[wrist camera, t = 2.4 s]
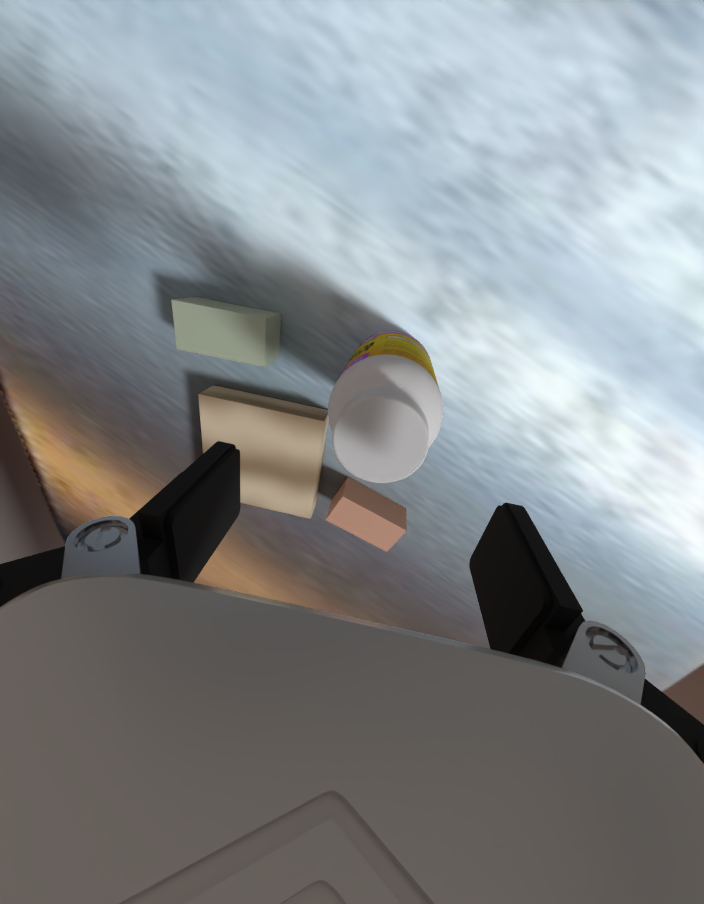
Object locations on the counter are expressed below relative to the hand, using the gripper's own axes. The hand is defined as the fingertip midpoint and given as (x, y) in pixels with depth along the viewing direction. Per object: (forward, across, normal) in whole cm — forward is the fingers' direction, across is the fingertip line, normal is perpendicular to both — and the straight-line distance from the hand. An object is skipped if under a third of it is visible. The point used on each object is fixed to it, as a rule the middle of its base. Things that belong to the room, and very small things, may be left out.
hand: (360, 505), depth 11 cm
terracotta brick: (+18, -2, +13) cm, 22 cm away
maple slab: (+18, +9, +9) cm, 22 cm away
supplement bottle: (+18, -1, -1) cm, 18 cm away
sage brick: (+18, +12, -2) cm, 22 cm away
